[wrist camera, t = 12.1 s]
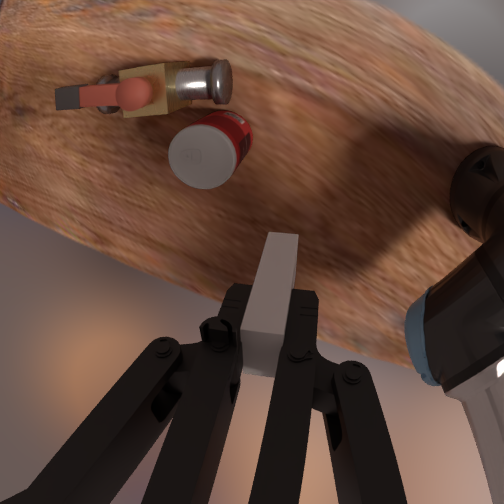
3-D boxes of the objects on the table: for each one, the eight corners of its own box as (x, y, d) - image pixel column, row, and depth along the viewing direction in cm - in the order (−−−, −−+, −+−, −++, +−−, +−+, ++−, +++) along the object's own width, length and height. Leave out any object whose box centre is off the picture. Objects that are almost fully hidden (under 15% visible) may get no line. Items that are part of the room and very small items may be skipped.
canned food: (193, 115, 42) (159, 133, 33) (248, 104, 40) (226, 118, 31) (206, 164, 46) (177, 194, 37) (258, 156, 44) (241, 185, 35)
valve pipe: (231, 58, 36) (211, 57, 29) (233, 102, 40) (214, 112, 33) (115, 72, 39) (79, 79, 32) (119, 110, 43) (85, 124, 36)
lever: (153, 76, 31) (145, 77, 29) (152, 108, 33) (144, 111, 32) (64, 83, 32) (54, 85, 31) (65, 110, 35) (56, 113, 33)
